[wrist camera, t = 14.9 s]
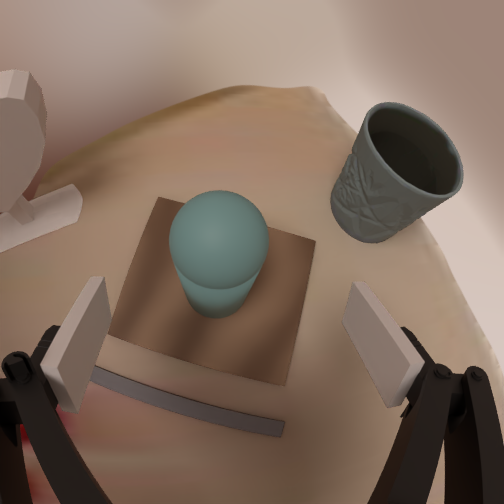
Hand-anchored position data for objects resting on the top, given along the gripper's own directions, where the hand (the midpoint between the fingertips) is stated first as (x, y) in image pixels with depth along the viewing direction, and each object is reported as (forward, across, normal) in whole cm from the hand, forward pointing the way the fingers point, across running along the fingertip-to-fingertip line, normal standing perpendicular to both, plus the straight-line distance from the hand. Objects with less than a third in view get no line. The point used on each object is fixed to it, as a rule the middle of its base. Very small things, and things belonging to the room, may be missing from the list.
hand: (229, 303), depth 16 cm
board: (+11, 0, -6) cm, 13 cm away
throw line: (+4, -4, -14) cm, 14 cm away
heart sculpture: (+16, -22, -1) cm, 27 cm away
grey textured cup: (+18, +15, 0) cm, 23 cm away
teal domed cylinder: (+10, 0, -5) cm, 12 cm away
